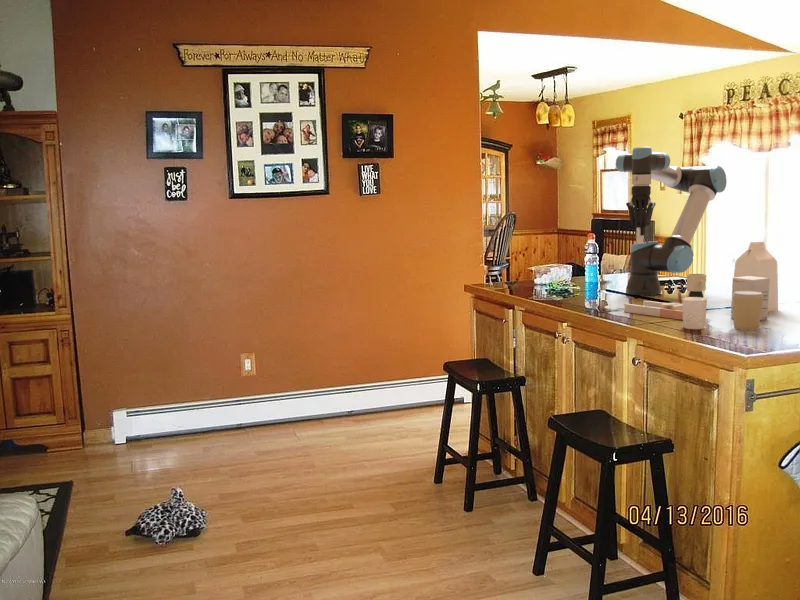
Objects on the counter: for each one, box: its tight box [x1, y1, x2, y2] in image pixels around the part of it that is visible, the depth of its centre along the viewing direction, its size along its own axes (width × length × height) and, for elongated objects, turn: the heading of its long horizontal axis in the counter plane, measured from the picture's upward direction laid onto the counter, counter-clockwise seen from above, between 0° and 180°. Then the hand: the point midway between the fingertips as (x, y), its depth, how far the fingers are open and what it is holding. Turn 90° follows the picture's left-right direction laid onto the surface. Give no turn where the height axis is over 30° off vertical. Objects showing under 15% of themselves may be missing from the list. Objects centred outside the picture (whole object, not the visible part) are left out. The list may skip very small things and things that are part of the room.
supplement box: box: [730, 276, 770, 321], centre depth 276 cm, size 9×9×15 cm
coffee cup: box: [733, 291, 763, 331], centre depth 259 cm, size 9×9×12 cm
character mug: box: [686, 273, 707, 298], centre depth 304 cm, size 11×7×13 cm, turn 5°
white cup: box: [681, 296, 708, 330], centre depth 262 cm, size 8×8×10 cm
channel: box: [623, 300, 683, 321], centre depth 291 cm, size 26×13×3 cm, turn 36°
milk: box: [731, 240, 779, 312], centre depth 295 cm, size 12×12×26 cm
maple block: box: [660, 302, 682, 311], centre depth 287 cm, size 7×7×4 cm
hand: (639, 243), depth 319 cm, fingers closed
